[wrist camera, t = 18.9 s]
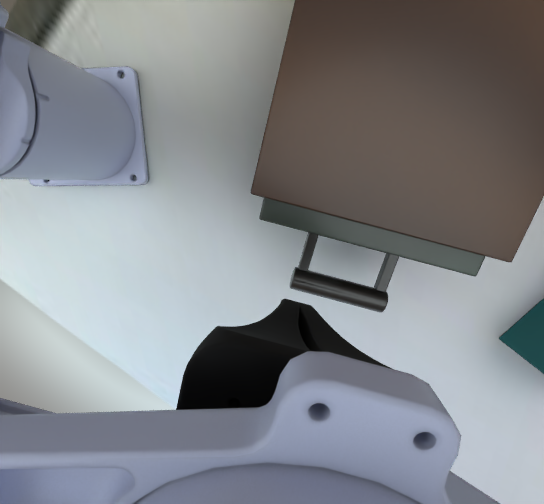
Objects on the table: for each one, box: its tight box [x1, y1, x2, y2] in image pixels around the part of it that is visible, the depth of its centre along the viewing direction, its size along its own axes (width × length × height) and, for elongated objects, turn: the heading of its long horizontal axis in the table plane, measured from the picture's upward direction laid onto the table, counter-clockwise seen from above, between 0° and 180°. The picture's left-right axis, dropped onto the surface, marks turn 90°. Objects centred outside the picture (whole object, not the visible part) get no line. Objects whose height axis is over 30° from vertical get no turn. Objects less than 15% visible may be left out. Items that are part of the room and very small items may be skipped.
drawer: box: [259, 197, 485, 312], centre depth 17 cm, size 18×11×7 cm, turn 165°
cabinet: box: [251, 0, 544, 262], centre depth 16 cm, size 15×13×9 cm
